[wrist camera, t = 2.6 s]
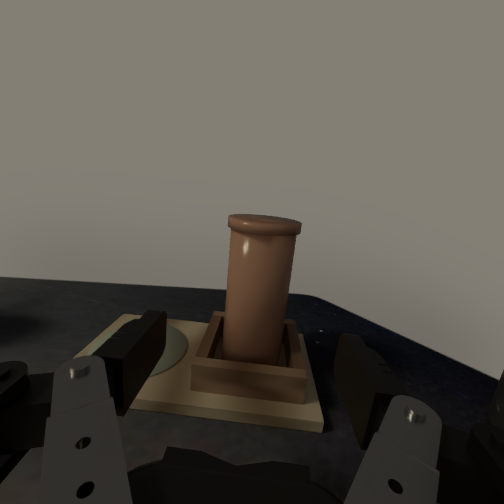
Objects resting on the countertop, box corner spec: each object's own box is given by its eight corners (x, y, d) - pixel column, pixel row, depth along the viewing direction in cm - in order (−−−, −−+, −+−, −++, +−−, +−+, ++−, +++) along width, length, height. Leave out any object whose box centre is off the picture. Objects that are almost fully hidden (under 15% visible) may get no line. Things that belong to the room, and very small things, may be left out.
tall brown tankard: (279, 336, 30) (295, 216, 27) (283, 388, 22) (306, 228, 19) (226, 330, 30) (235, 210, 27) (212, 379, 22) (222, 219, 19)
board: (301, 341, 31) (305, 315, 30) (321, 432, 20) (329, 394, 19) (124, 321, 32) (123, 294, 31) (42, 397, 20) (37, 358, 19)
